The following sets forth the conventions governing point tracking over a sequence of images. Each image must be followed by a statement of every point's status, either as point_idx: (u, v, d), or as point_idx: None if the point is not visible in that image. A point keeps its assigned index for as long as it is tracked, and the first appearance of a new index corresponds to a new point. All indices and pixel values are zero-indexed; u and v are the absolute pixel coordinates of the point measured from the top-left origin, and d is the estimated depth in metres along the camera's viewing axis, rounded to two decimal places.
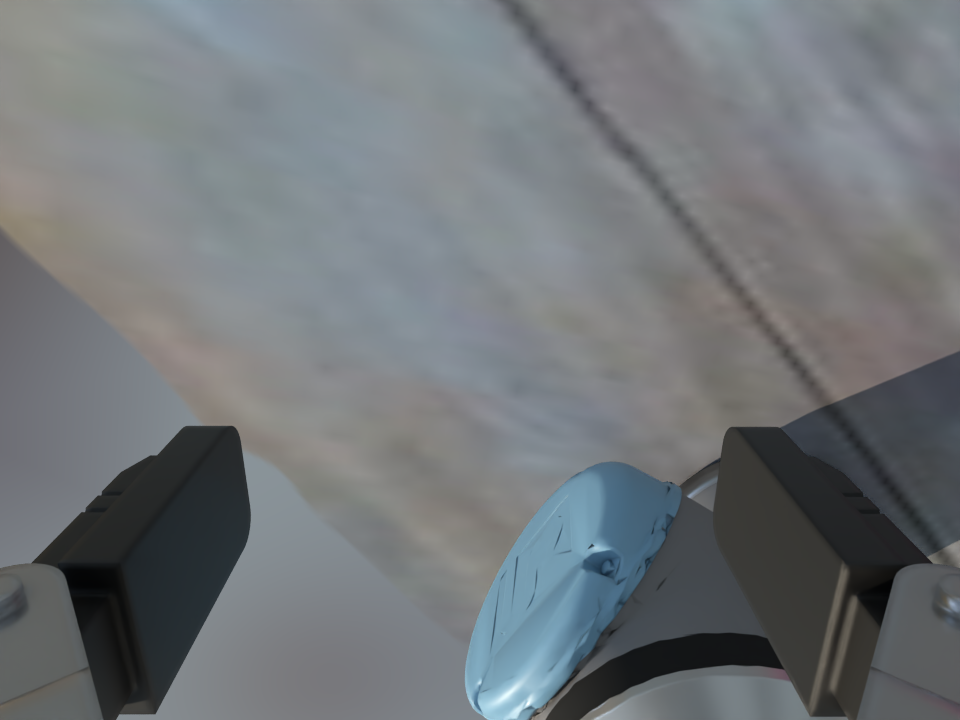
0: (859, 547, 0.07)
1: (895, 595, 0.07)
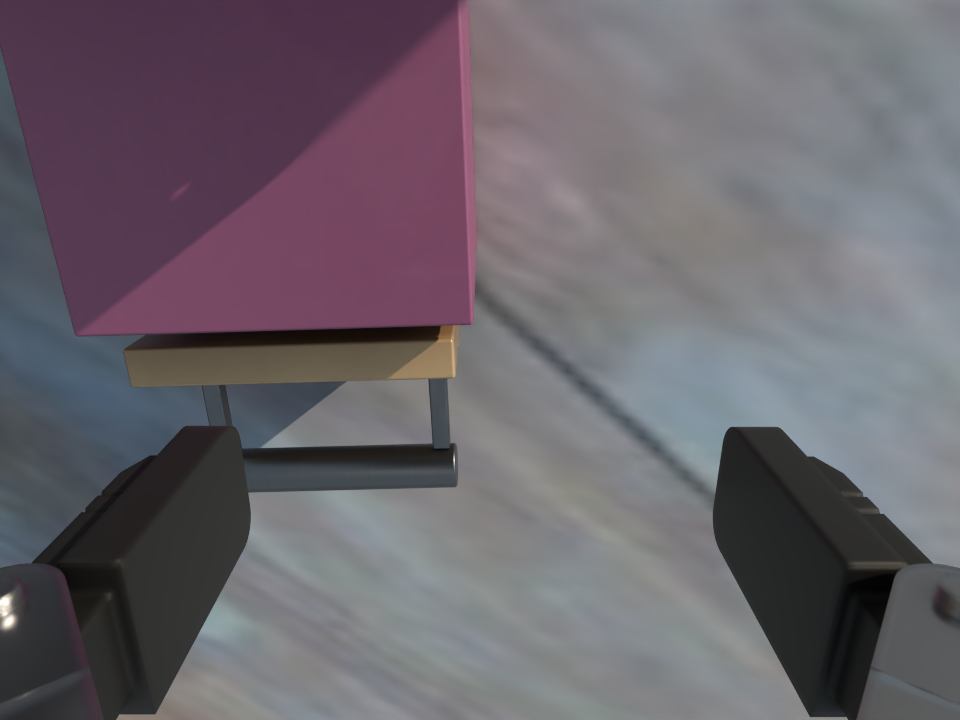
0: (859, 547, 0.07)
1: (895, 595, 0.07)
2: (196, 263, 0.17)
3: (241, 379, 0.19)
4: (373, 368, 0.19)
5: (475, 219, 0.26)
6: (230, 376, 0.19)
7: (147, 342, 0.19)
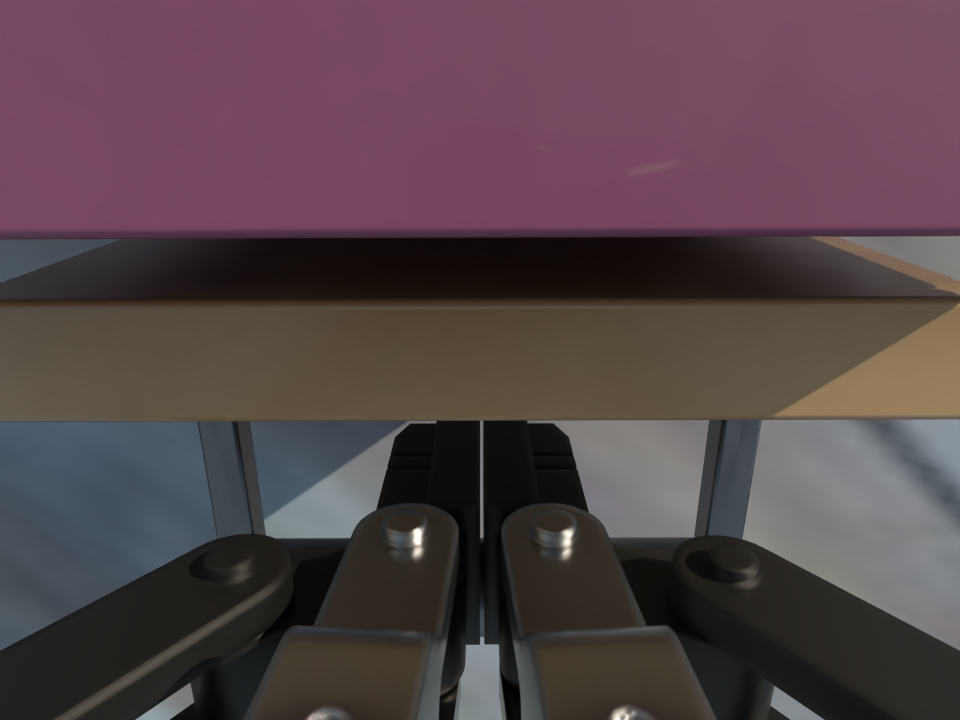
0: (508, 492, 0.09)
1: (508, 550, 0.07)
2: None
3: (321, 405, 0.06)
4: (739, 384, 0.06)
5: None
6: (288, 397, 0.06)
7: (33, 285, 0.06)
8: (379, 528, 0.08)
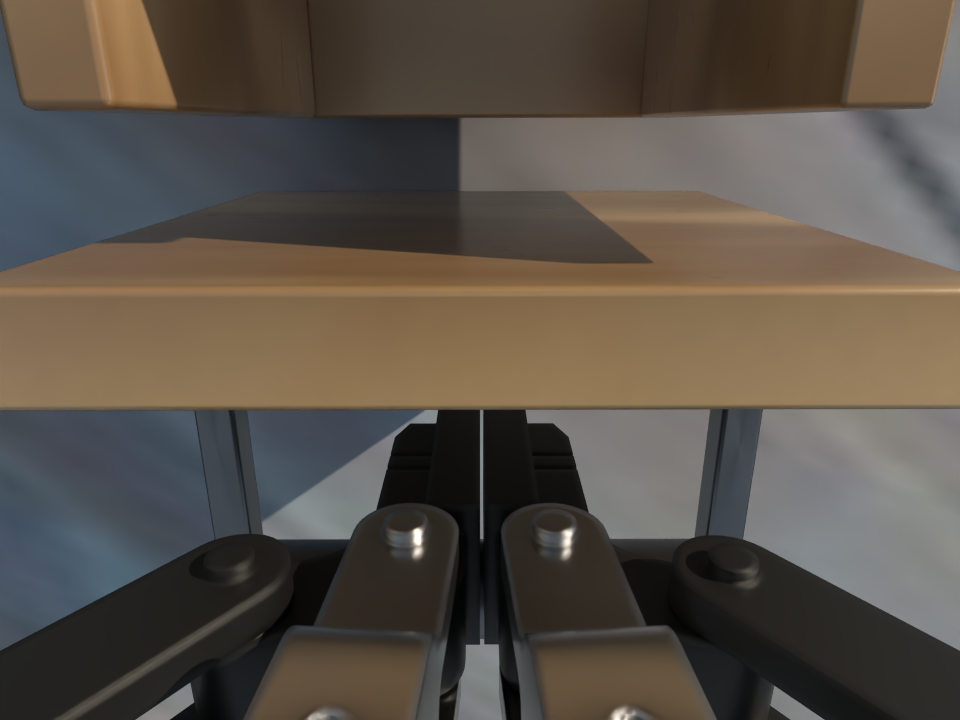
0: (508, 491, 0.09)
1: (508, 550, 0.07)
2: None
3: (320, 394, 0.06)
4: (739, 372, 0.06)
5: None
6: (287, 385, 0.06)
7: (32, 274, 0.06)
8: (379, 528, 0.08)
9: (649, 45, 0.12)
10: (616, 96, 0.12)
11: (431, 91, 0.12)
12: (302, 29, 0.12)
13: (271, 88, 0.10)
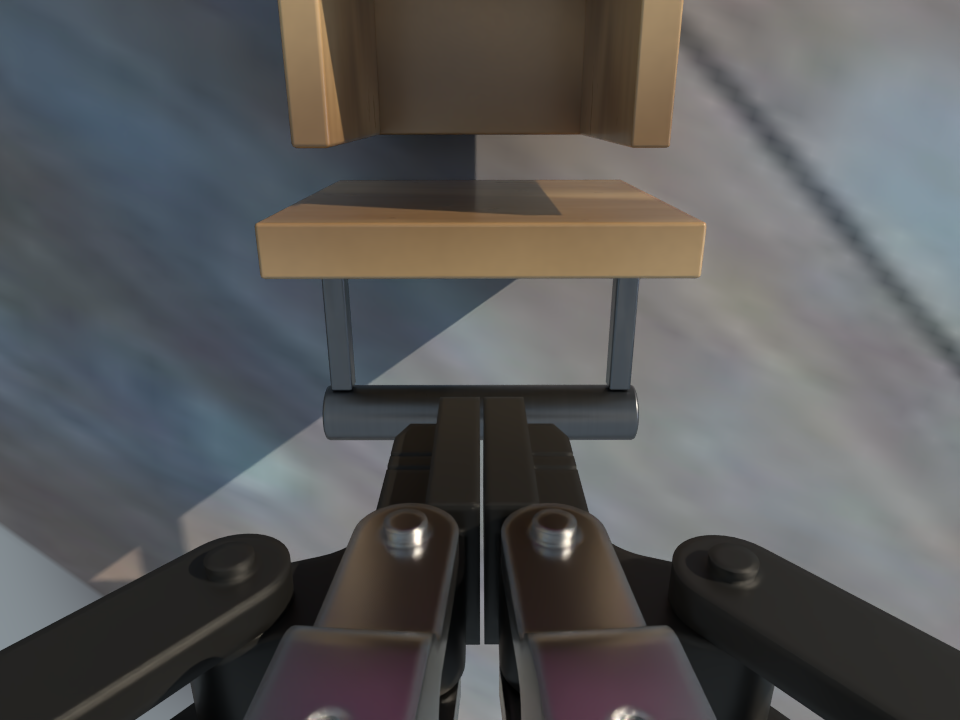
0: (508, 491, 0.09)
1: (508, 550, 0.07)
2: None
3: (412, 270, 0.14)
4: (593, 260, 0.14)
5: None
6: (398, 266, 0.14)
7: (283, 218, 0.14)
8: (379, 528, 0.08)
9: (583, 92, 0.20)
10: (564, 121, 0.20)
11: (451, 118, 0.20)
12: (375, 83, 0.19)
13: (365, 123, 0.18)
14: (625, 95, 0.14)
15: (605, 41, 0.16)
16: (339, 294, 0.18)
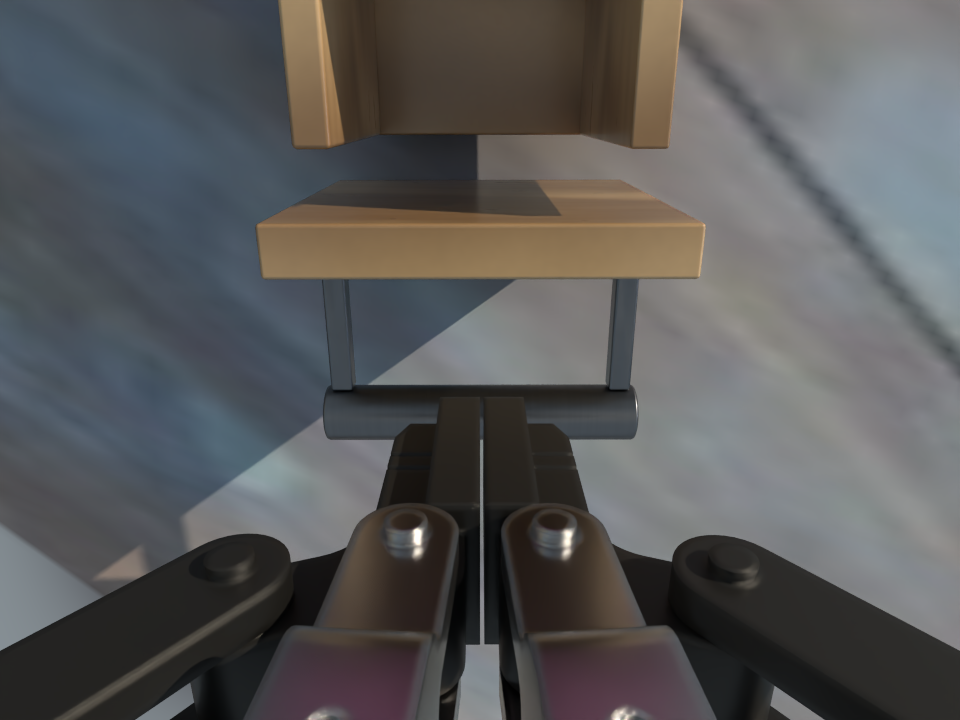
0: (508, 491, 0.09)
1: (508, 550, 0.07)
2: None
3: (412, 271, 0.14)
4: (593, 261, 0.14)
5: None
6: (398, 267, 0.14)
7: (284, 219, 0.14)
8: (379, 528, 0.08)
9: (582, 92, 0.20)
10: (564, 121, 0.20)
11: (451, 119, 0.20)
12: (375, 84, 0.19)
13: (365, 124, 0.18)
14: (625, 96, 0.14)
15: (605, 42, 0.16)
16: (339, 295, 0.18)
